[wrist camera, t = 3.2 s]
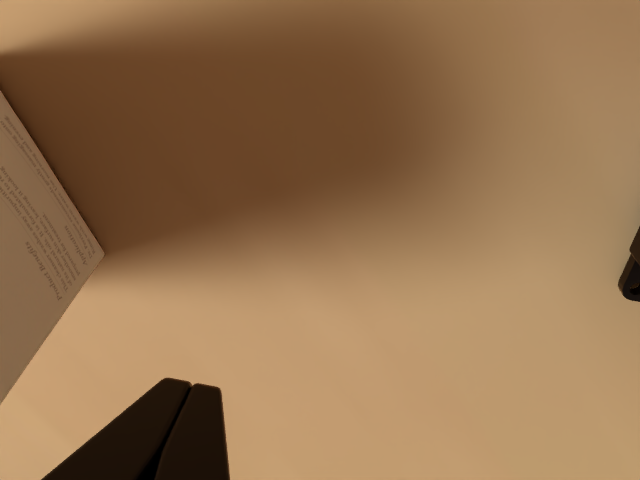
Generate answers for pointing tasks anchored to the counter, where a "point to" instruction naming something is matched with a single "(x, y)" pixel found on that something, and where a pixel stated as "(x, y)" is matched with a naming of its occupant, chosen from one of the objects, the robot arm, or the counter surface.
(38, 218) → the skincare box
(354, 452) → the counter surface
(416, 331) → the counter surface
